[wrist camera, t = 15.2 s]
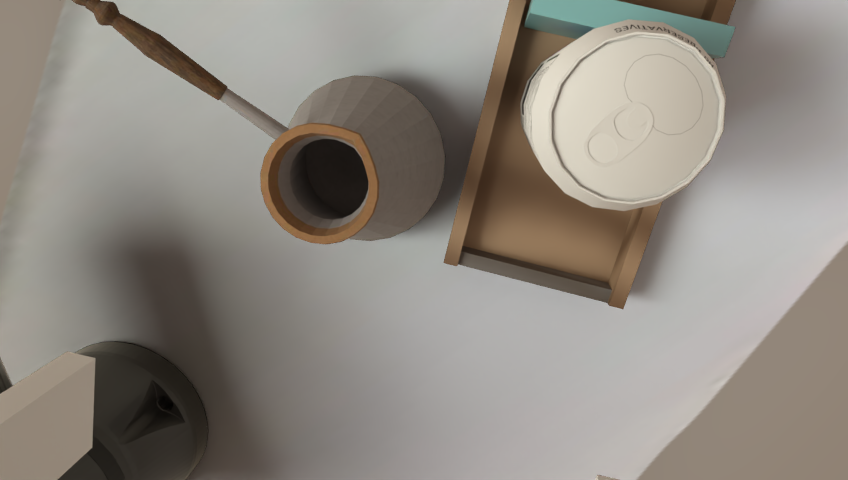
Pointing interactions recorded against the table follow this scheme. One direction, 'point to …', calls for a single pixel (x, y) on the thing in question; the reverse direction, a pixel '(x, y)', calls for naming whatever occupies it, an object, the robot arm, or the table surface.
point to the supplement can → (625, 114)
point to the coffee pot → (327, 148)
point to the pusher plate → (597, 6)
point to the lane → (545, 184)
